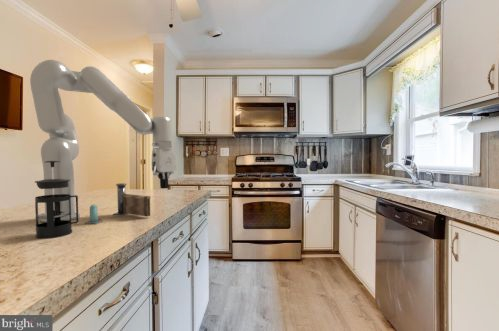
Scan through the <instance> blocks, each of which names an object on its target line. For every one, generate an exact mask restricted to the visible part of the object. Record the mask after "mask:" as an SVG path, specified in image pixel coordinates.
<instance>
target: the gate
mask: <svg viewBox="0 0 499 331" xmlns="http://www.w3.org/2000/svg"><path fill="white" fill-rule="evenodd" d="M123 213H127V215H135V216H140V217H142V216H143V217H150V216H151V196H150V195H141V194H131V193H129V194H128V193H125V194H123Z"/></svg>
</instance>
